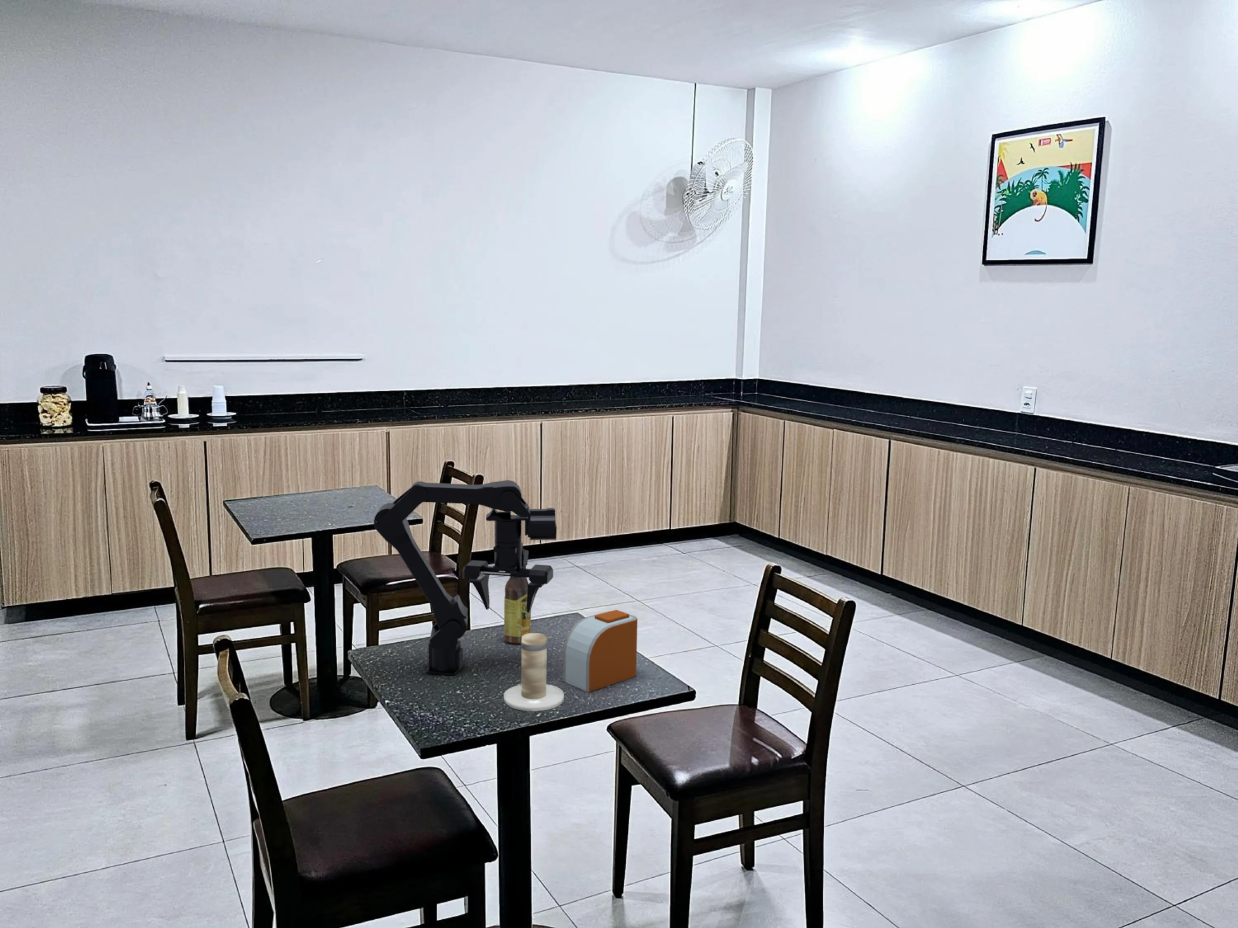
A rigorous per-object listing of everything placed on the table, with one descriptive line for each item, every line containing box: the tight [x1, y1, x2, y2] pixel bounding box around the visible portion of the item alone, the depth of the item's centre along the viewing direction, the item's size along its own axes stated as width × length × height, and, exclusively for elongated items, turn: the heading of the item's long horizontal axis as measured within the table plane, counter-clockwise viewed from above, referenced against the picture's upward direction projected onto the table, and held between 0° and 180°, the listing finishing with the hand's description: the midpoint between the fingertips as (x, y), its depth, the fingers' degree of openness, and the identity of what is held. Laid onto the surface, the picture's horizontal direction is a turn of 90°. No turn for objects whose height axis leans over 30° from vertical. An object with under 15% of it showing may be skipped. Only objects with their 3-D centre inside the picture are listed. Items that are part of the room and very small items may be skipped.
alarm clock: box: [562, 609, 638, 693], centre depth 213 cm, size 15×8×14 cm, turn 133°
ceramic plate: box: [503, 683, 565, 712], centre depth 202 cm, size 12×12×1 cm
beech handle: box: [520, 632, 548, 699], centre depth 201 cm, size 5×5×12 cm
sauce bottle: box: [503, 565, 532, 645], centre depth 235 cm, size 7×6×20 cm
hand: (508, 610), depth 216 cm, fingers open, 9 cm apart
